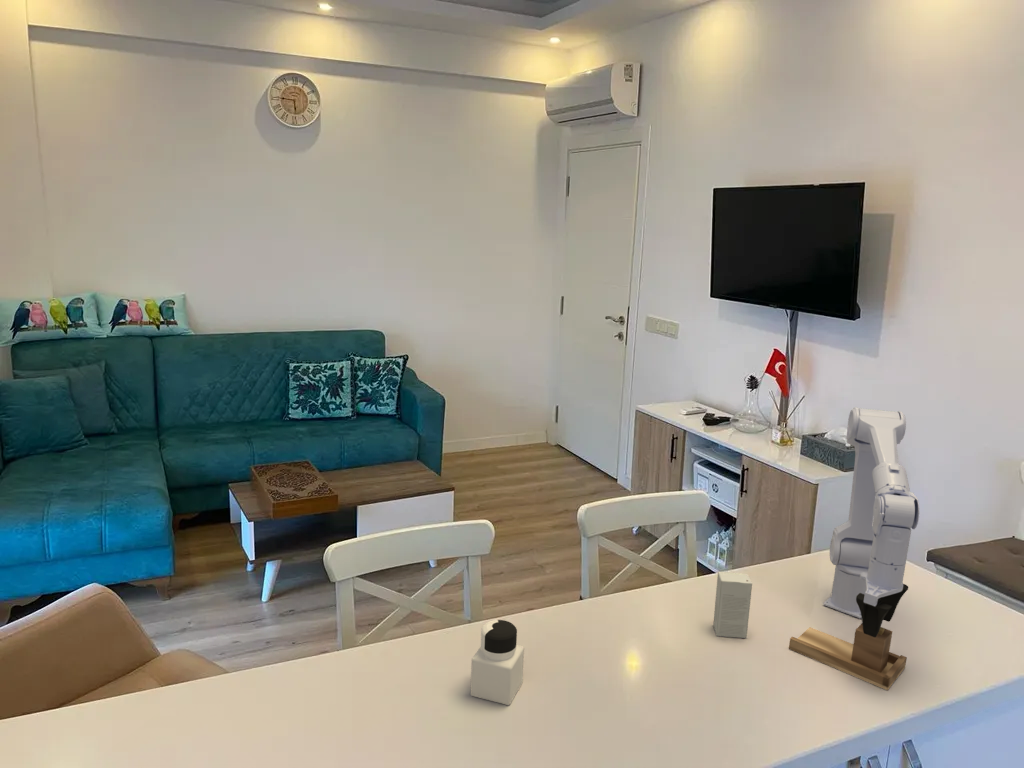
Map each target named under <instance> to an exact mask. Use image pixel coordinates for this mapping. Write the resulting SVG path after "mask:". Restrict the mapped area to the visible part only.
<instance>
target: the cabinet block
mask: <svg viewBox="0 0 1024 768" xmlns="http://www.w3.org/2000/svg"><path fill="white" fill-rule="evenodd" d="M854 632H855V633H854V638H853V639H854V640H853V643H852V644H853V651H852V657H851V661H853V662H855V663H858V664H860V665H863V666H865V667H868V668H870V669H873V670H875V671H877V672H880V673H881V672H882V671H883V669H884V668H885V667H886V666H887V662H888V656H889V652H890V649H891V643H892V637H893V636H892V635H893V631H892V630H891V629H887V628H885V627H882V626H881V627H880V630H879V633H878V634H877V636H876V637H872V636H870V635H867V634H864V632H863V625H862V623H860V625H859V626H858V627H856V629H855V631H854Z"/></svg>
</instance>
